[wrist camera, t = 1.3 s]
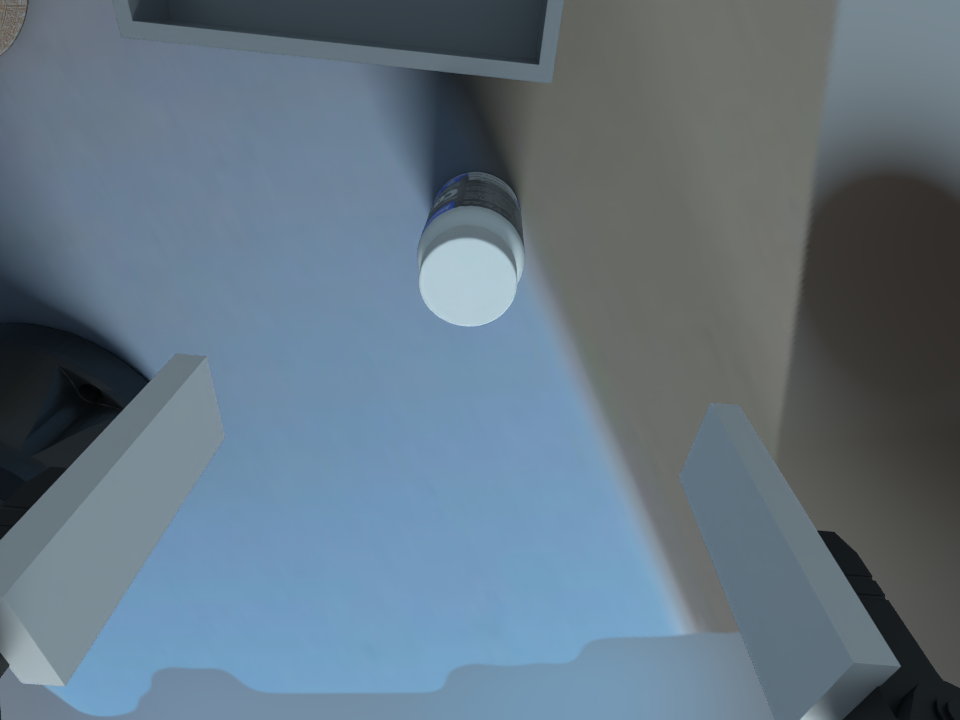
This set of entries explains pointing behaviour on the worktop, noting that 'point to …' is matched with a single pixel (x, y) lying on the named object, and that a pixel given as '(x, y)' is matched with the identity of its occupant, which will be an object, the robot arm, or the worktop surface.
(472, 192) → the pill bottle
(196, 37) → the grey tray
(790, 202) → the worktop surface
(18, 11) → the planter
